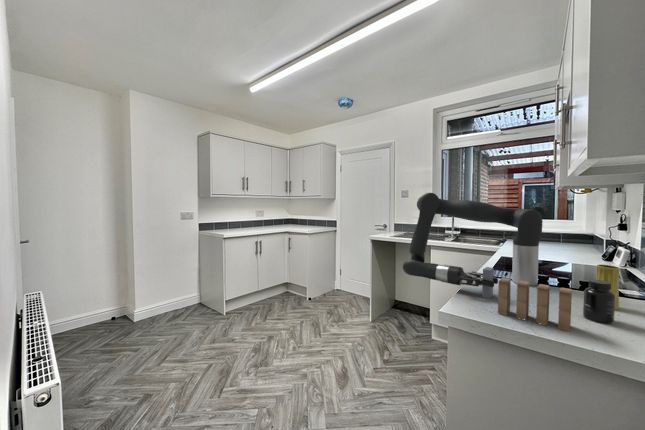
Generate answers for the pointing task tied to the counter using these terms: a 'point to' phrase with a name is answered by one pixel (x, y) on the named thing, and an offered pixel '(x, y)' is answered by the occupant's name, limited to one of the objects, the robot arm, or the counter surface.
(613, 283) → the vase
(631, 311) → the counter surface
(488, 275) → the domino
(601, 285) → the supplement bottle
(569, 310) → the domino
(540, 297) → the domino
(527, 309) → the domino
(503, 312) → the domino
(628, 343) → the counter surface
